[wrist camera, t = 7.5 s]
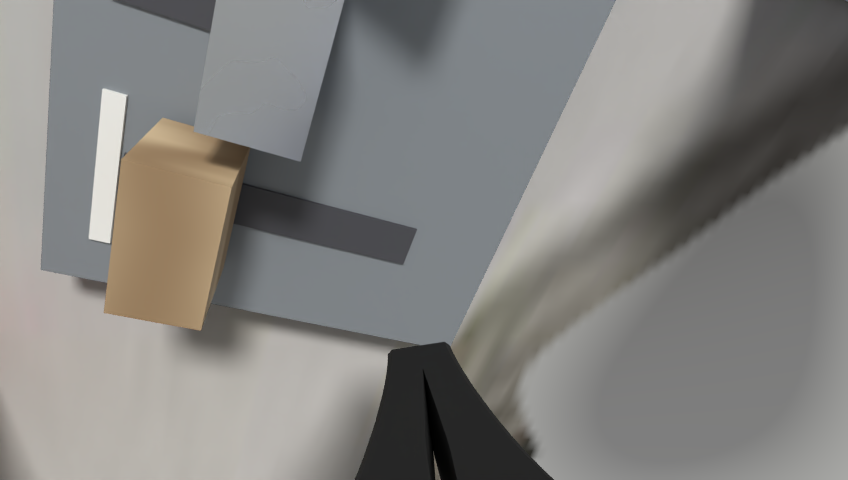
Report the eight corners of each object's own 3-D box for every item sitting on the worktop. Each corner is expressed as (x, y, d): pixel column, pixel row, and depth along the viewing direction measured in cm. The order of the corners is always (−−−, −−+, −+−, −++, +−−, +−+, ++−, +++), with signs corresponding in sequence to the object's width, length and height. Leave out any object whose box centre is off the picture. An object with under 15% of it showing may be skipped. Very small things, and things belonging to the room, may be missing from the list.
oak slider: (251, 142, 15) (231, 187, 13) (223, 267, 17) (200, 330, 15) (162, 117, 15) (121, 159, 12) (143, 250, 17) (103, 312, 14)
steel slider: (352, -42, 14) (354, -37, 11) (307, 121, 15) (300, 161, 13) (254, -81, 13) (230, -85, 10) (221, 95, 15) (193, 131, 12)
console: (689, -229, 15) (773, -269, 12) (440, 318, 23) (454, 374, 20) (127, -568, 11) (48, -751, 8) (68, 239, 19) (19, 293, 16)
